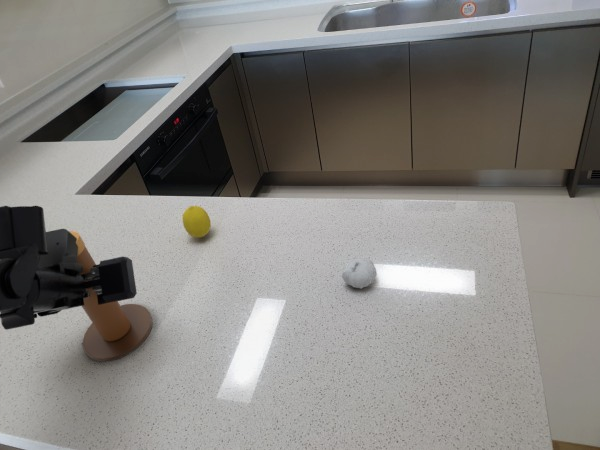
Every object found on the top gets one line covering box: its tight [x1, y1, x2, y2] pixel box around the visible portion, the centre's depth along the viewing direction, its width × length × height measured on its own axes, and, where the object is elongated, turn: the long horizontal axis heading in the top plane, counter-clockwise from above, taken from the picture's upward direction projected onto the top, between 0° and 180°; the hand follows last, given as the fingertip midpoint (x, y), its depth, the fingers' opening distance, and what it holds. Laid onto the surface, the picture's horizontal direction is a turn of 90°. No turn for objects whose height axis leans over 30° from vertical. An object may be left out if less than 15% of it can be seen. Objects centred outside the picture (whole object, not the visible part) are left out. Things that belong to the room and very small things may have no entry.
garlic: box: [341, 257, 378, 289], centre depth 79 cm, size 6×5×5 cm
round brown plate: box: [82, 303, 153, 362], centre depth 81 cm, size 12×12×1 cm
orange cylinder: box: [68, 230, 130, 341], centre depth 74 cm, size 5×5×20 cm
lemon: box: [182, 205, 212, 238], centre depth 97 cm, size 6×6×8 cm
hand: (97, 289), depth 76 cm, fingers closed on orange cylinder, 5 cm apart
